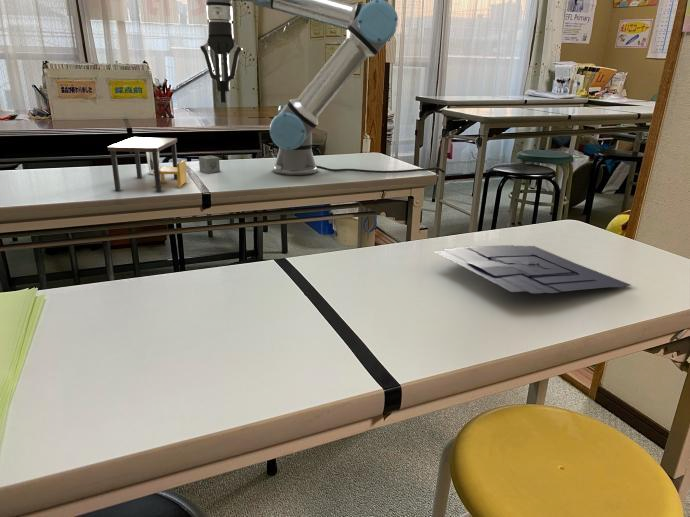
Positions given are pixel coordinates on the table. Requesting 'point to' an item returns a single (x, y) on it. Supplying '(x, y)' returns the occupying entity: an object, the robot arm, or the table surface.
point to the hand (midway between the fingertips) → (224, 102)
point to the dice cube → (209, 164)
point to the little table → (139, 146)
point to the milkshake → (150, 161)
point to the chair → (178, 170)
